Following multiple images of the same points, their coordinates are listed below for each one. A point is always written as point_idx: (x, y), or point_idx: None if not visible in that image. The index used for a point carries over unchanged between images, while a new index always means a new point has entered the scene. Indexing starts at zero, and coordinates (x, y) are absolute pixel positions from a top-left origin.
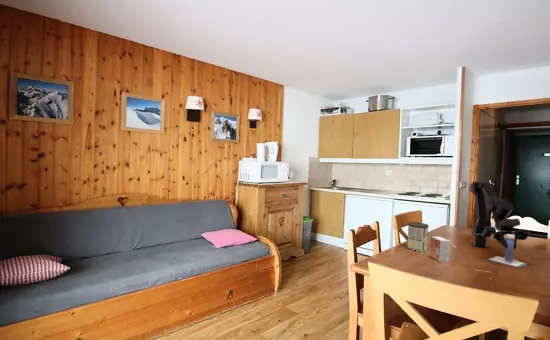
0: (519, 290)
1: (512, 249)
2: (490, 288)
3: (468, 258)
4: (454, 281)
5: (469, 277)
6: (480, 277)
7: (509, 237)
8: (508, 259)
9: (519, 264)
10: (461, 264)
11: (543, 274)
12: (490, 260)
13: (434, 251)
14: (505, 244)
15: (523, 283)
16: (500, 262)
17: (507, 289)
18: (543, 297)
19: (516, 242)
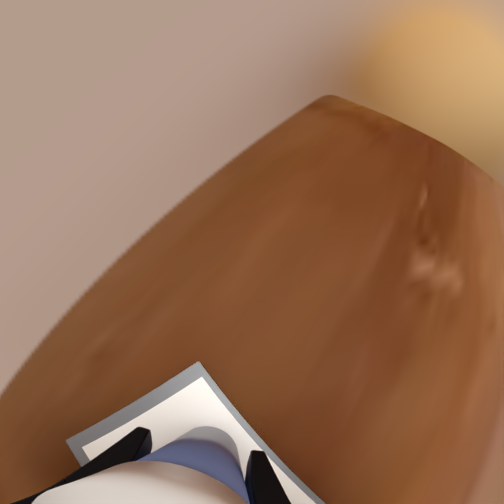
0: (363, 125)
1: (183, 439)
2: (426, 140)
3: (433, 481)
4: (487, 177)
5: (469, 198)
6: (446, 199)
7: (232, 499)
8: (226, 433)
9: (143, 418)
10: (490, 338)
11: (119, 267)
12: (315, 494)
13: None
14: (275, 478)
15: (325, 157)
16: (272, 452)
17: (391, 132)
18: (321, 100)
19: (76, 470)
